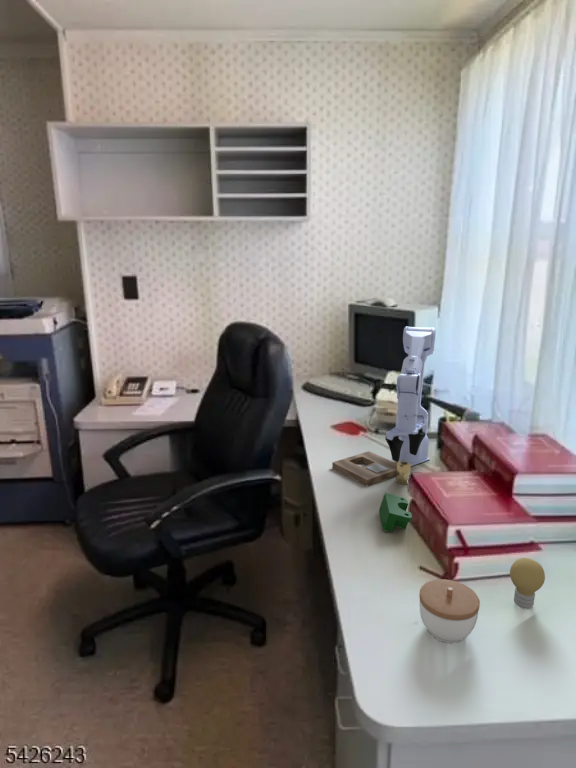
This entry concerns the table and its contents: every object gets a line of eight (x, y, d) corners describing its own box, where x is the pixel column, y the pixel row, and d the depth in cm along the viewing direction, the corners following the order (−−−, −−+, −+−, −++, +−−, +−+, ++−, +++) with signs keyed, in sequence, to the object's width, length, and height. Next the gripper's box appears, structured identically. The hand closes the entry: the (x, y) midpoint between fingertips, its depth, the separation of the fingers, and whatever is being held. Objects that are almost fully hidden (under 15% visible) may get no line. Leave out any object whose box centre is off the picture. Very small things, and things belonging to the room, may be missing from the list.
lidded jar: (435, 605, 111) (438, 564, 109) (486, 631, 104) (490, 588, 101) (406, 632, 104) (409, 589, 101) (459, 661, 96) (463, 616, 94)
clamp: (400, 545, 140) (413, 524, 135) (378, 539, 140) (389, 518, 135) (400, 508, 150) (412, 487, 144) (379, 503, 150) (390, 481, 144)
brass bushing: (402, 477, 169) (403, 459, 168) (412, 482, 166) (413, 463, 164) (393, 480, 167) (394, 462, 165) (403, 485, 164) (404, 466, 162)
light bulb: (512, 590, 116) (517, 548, 113) (544, 603, 112) (550, 559, 109) (501, 606, 111) (507, 562, 108) (535, 619, 107) (541, 574, 104)
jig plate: (368, 456, 185) (369, 450, 184) (404, 472, 172) (404, 466, 172) (332, 468, 176) (332, 461, 175) (367, 486, 163) (367, 478, 163)
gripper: (399, 422, 154) (397, 467, 157) (434, 412, 162) (431, 455, 165) (381, 415, 159) (379, 459, 163) (415, 406, 167) (413, 448, 171)
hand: (404, 457), depth 164 cm, fingers open, 7 cm apart
